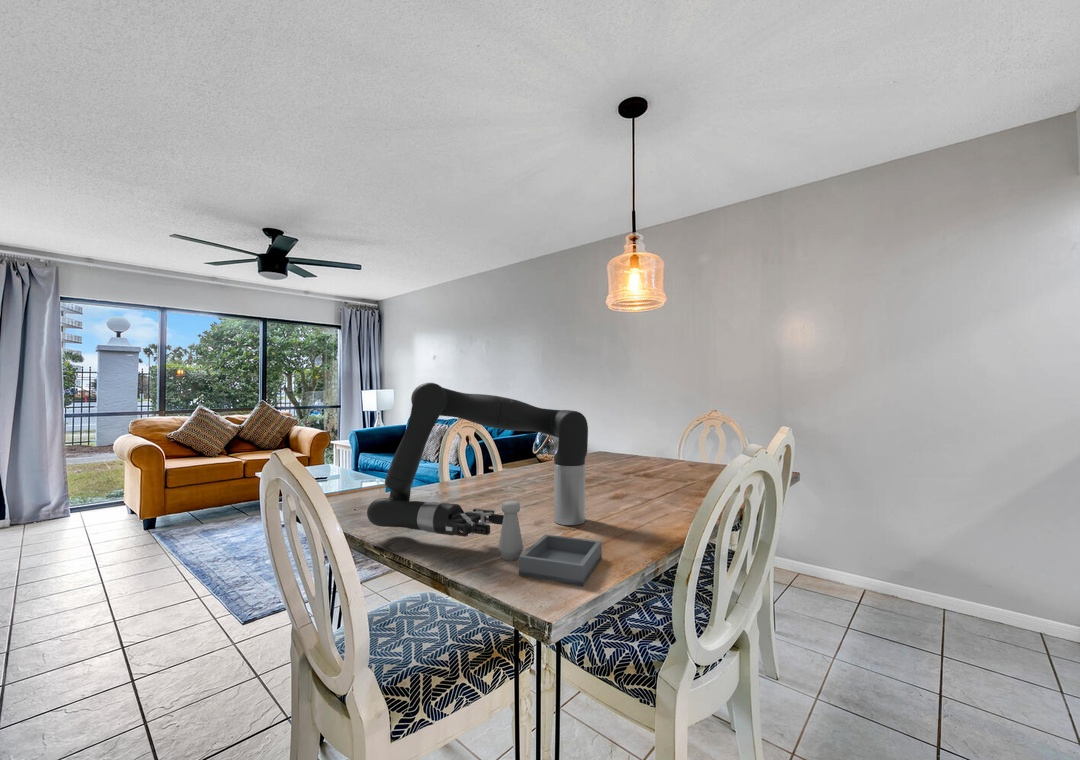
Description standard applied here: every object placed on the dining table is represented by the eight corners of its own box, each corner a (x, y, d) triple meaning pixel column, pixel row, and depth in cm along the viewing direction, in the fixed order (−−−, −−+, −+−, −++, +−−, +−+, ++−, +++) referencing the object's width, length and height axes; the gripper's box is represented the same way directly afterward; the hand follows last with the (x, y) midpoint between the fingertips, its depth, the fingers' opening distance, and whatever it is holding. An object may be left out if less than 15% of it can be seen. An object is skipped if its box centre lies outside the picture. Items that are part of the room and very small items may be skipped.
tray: (545, 550, 110) (545, 534, 110) (601, 558, 105) (601, 541, 105) (518, 575, 95) (518, 556, 95) (582, 586, 90) (582, 566, 90)
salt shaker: (510, 551, 109) (510, 497, 110) (528, 556, 106) (528, 501, 106) (493, 558, 105) (493, 502, 105) (511, 564, 101) (511, 505, 102)
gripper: (423, 509, 106) (483, 516, 100) (455, 496, 119) (510, 502, 114) (422, 541, 106) (483, 550, 100) (455, 525, 119) (510, 532, 113)
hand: (498, 524), depth 107 cm, fingers open, 8 cm apart
